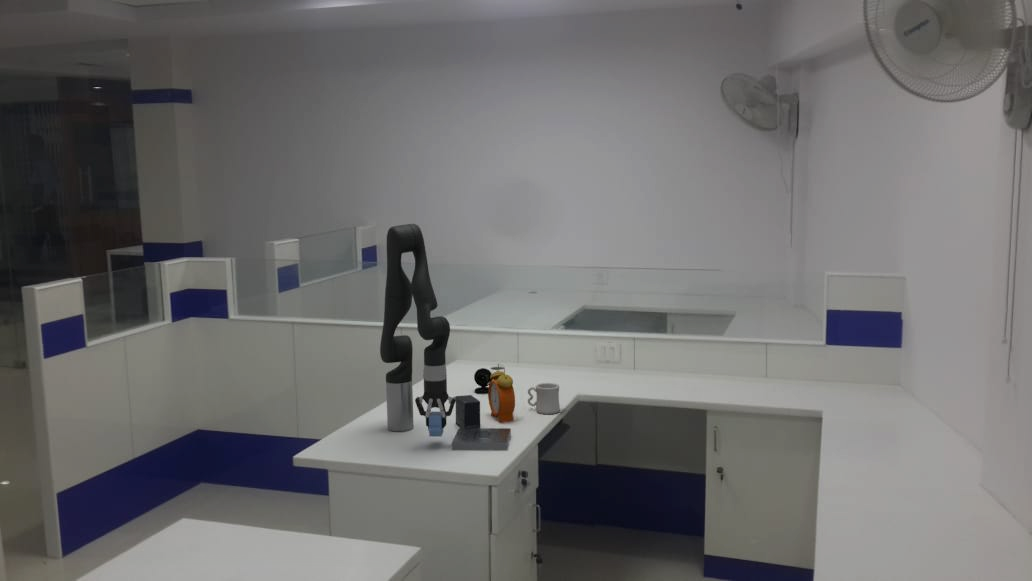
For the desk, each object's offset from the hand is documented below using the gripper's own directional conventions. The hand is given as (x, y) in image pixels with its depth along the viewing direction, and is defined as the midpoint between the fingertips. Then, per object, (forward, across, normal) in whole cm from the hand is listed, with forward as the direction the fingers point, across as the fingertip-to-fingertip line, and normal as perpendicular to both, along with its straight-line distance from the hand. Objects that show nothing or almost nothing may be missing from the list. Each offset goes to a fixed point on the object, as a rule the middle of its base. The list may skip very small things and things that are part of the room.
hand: (436, 427), depth 286 cm
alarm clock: (+7, -20, -32) cm, 38 cm away
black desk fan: (+8, -9, -71) cm, 72 cm away
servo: (+2, 0, 0) cm, 2 cm away
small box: (+7, -8, -21) cm, 24 cm away
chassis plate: (+6, -15, -3) cm, 16 cm away
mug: (+7, -35, -41) cm, 55 cm away
